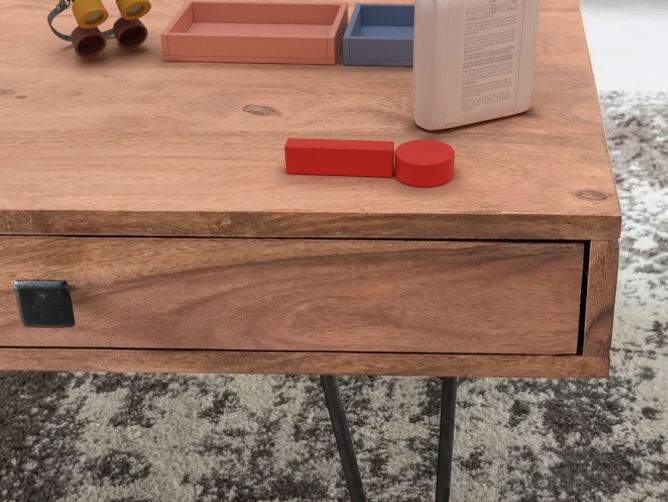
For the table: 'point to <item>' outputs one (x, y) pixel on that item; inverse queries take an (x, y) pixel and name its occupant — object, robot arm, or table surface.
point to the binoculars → (93, 14)
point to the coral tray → (256, 32)
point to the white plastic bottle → (472, 60)
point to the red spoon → (372, 159)
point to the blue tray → (380, 35)
